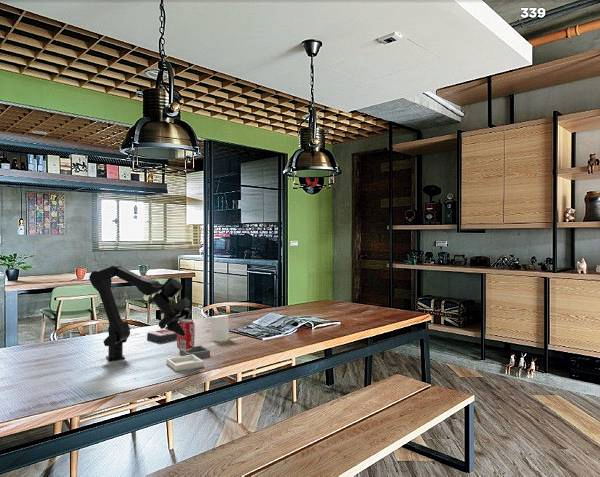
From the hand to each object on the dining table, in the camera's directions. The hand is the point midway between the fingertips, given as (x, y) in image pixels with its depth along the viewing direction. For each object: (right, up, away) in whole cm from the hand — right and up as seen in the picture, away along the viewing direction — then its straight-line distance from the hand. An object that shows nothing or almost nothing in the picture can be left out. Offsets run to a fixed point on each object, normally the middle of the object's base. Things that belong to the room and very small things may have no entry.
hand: (188, 333), depth 180 cm
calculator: (-23, -13, +44) cm, 51 cm away
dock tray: (-2, -13, 0) cm, 13 cm away
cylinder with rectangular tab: (+5, -13, +44) cm, 46 cm away
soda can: (-1, -7, +1) cm, 7 cm away
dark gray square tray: (-1, -13, +15) cm, 20 cm away
